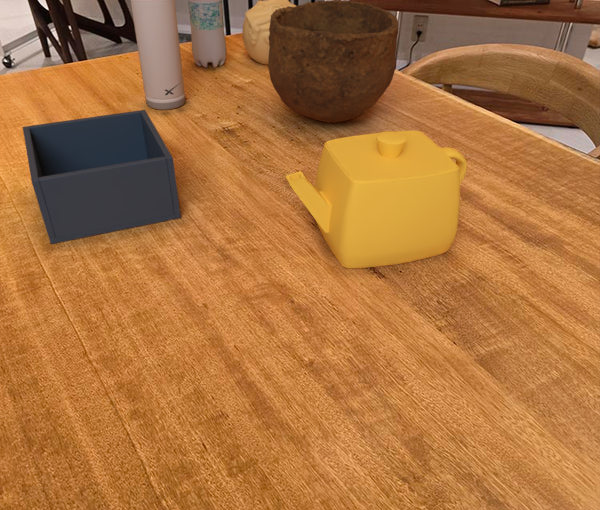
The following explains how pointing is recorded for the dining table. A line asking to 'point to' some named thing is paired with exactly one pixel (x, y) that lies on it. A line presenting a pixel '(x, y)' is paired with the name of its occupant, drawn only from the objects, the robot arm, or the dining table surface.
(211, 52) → the bottle
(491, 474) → the dining table surface
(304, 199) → the teapot
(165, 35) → the travel mug
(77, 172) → the box
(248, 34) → the sculpture
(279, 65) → the bowl
